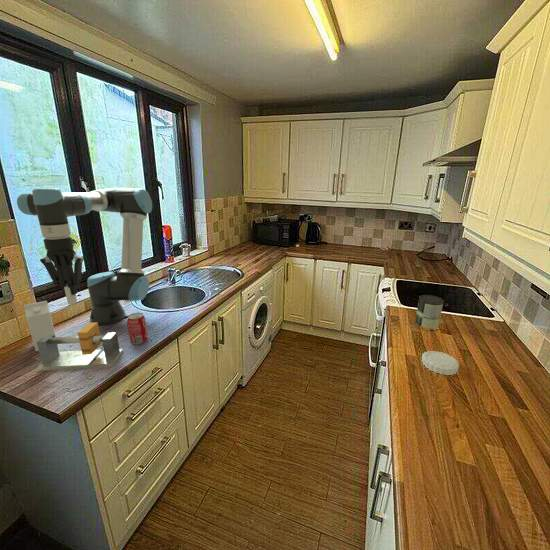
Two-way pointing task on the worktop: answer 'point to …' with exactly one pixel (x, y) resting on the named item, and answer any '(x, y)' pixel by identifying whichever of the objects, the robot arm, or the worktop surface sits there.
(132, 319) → the soda can
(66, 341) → the pipe stand
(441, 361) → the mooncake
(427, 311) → the coffee can
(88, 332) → the orange tall block
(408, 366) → the worktop surface
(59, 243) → the robot arm
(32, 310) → the milk carton
